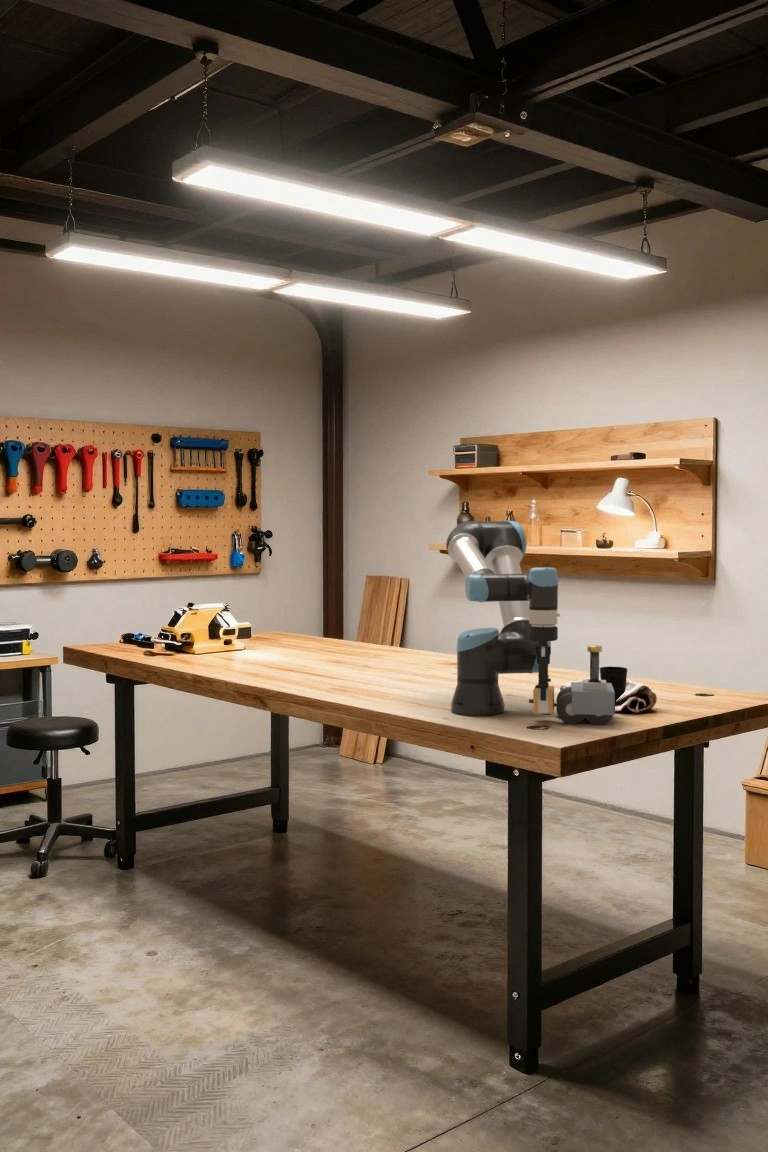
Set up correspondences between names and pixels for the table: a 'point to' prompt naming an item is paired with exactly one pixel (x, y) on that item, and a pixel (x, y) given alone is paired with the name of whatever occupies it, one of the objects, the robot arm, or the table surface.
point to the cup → (615, 678)
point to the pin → (594, 662)
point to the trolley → (586, 702)
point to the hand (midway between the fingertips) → (543, 709)
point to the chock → (550, 700)
